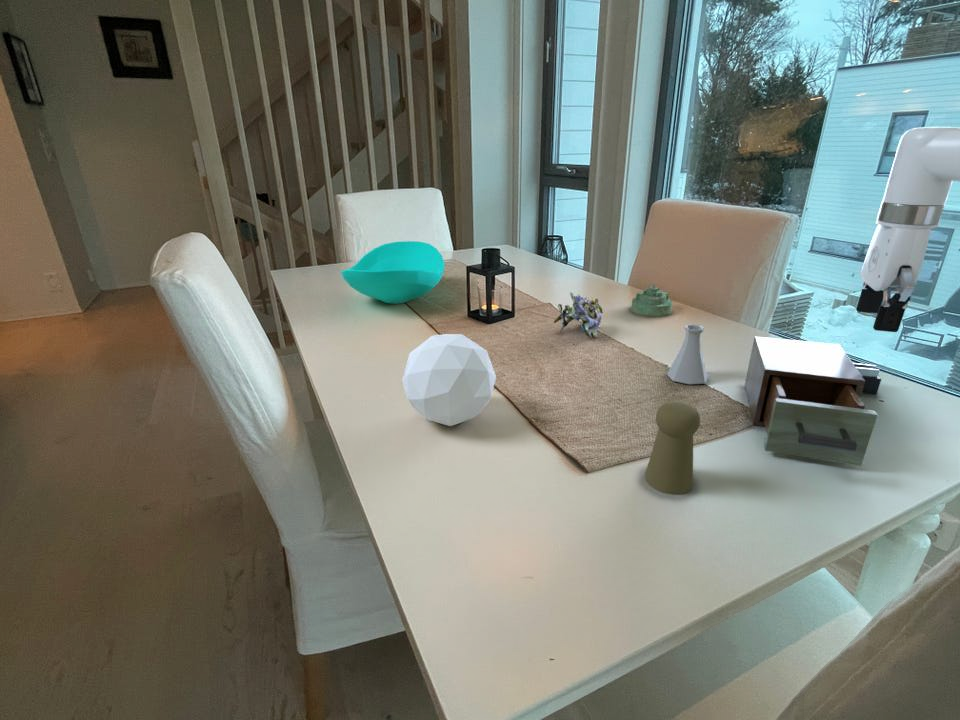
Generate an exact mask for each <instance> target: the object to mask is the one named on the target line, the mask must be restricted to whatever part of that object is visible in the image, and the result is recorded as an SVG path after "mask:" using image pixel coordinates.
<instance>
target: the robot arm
mask: <svg viewBox="0 0 960 720" xmlns="http://www.w3.org/2000/svg"><path fill="white" fill-rule="evenodd" d="M953 182H959V183H960V127H959V126H958V127H957V126H924V127H922V126H921V127H914V128H910V129H908V130H906V131H905V132H904V133H903V134H902V135H901V137H900V139H899V143H898V146H897V148H896V152H895V156H894V159H893V162H892V167H891V170H890V172H889V177H888V180H887V183H886V186H885V190H884V194H883V198H882V201H881V203H880V208H879V211H878V214H877V217H876V221H875V224H877V226H876V228H875V231H874V234H873V236H872V239H871V241H870V244H869V247H868V249H867V253H866V256H865V258H864V262H863V264H862V267H861V270H860V274H859V275H860V279H861V280H862V281H863V284H862V289H861V290H860V291H861V292H860V294H859V298H858V302H857V305H856V311H857V312H858V313H867V314H868V313H869V314H876V316H875V320H874V322H873V326H872V328H873V330H874V331H876V332H877V331H878V332H888V333H898V331H899V329H900V326H901V324H902V321H903V317H904V315H905V312H906V310H907V308H908V304H909V302H910V301H911V298H912V294H913V292H914V291H915V289H916V284H917V282H918V279H919V276H920V273H921V271H922V266H923V263H924V260H925V256H926V252H927V250H928V249H927V248H928V244H929V240H930V236H931V230H932V229H933V230H934V229H937V228H938V227H939V223H940V220H941V217H942V214H943V211H944V208H945V205H946V202H947V200H948V197H949V194H950V190H951V187H952V185H953ZM892 294H893V296H891V295H892Z"/></svg>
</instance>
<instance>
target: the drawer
mask: <svg viewBox="0 0 960 720" xmlns="http://www.w3.org/2000/svg"><path fill="white" fill-rule="evenodd" d="M762 415H763V419H764V423H765V427H764V428H765V430H766V436H765V441H764V444H763V448H764V451H765V452H772V453H777V454H784V455H790V456H797V457H804V458H808V459H814V460H821V461H827V462H832V463H833V462H834V463H840V464H847V465H852V466H853V465H854V466H860V467H862V464H863V461H864V459H865V455H866V452H867V449H868V446H869V444H870V440H871V437H872V435H873V431H874V429H875V425H876V422H877V419H878V413H877V411H876V410H873V409H867V408H866V406H865V404H864V402H863V401H862V399H861V397H860V398H859V396H858V395H857V393H856V392H855V390H854V388H853V387H852V385H851V384H845V383H836V382H828V381H819V380H811V379H802V378H793V377H785V376H776V375H770V376H769V380H768V385H767V389H766V394H765V398H764V403H763V407H762Z"/></svg>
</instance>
